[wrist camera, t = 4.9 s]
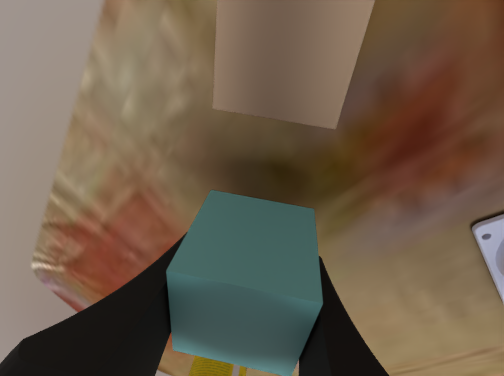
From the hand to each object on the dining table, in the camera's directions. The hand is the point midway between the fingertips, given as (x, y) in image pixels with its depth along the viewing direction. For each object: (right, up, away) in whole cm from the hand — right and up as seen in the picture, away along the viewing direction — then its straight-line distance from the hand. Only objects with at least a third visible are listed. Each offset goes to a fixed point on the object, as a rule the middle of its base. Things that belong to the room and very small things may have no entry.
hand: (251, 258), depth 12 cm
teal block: (0, +1, +1) cm, 1 cm away
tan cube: (+2, +11, +1) cm, 11 cm away
